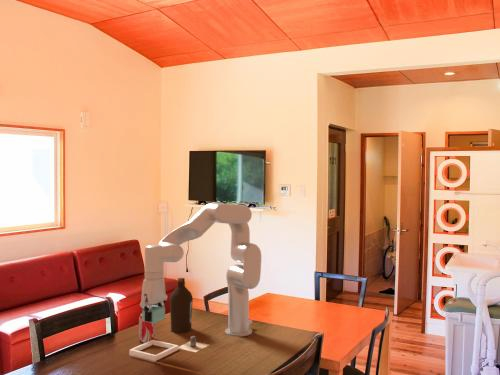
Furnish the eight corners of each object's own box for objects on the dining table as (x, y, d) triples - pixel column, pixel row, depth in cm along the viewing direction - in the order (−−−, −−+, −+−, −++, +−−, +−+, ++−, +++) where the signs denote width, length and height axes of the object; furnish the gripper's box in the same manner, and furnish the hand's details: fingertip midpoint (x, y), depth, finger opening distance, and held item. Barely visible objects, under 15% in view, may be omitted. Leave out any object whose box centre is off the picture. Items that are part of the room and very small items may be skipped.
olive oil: (170, 335, 218) (170, 281, 218) (169, 328, 229) (169, 276, 228) (193, 334, 221) (193, 280, 220) (191, 327, 231) (191, 275, 231)
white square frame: (152, 345, 206) (152, 339, 206) (178, 351, 199) (178, 345, 199) (129, 355, 194) (129, 349, 194) (156, 362, 187) (156, 356, 187)
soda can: (151, 344, 207) (151, 316, 207) (136, 343, 209) (135, 315, 209) (157, 338, 214) (157, 312, 214) (142, 337, 216) (142, 311, 215)
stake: (190, 342, 209) (190, 331, 209) (209, 346, 204) (209, 335, 204) (176, 349, 201) (176, 338, 201) (195, 354, 196) (195, 342, 196)
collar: (164, 319, 197) (165, 307, 197) (154, 323, 192) (154, 311, 192) (149, 316, 201) (150, 304, 201) (139, 319, 196) (139, 307, 196)
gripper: (161, 271, 205) (160, 312, 205) (132, 278, 190) (132, 323, 190) (174, 272, 201) (174, 315, 202) (146, 280, 186) (146, 326, 187)
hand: (154, 318), depth 196 cm, fingers closed on collar, 6 cm apart
